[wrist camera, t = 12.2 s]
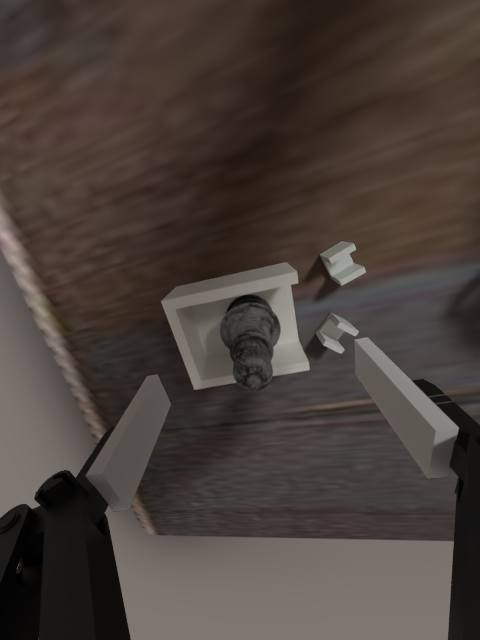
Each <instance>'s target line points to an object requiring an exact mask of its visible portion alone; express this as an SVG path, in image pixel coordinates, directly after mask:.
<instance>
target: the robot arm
mask: <svg viewBox="0 0 480 640" xmlns="http://www.w3.org/2000/svg"><path fill="white" fill-rule="evenodd" d="M355 372H356V376H357V378H358V379H359V380H360V382H361V383H362V385H363V386H364V388H365V389H366V391H367V392H368V393H369V395H370V396H371V398H372V399H373V401H374V402H375V403H376V405H377V406H378V408H379V409H380V411H381V412H382V414H383V415H384V416H385V418H386V419H387V421H388V422H389V424H390V425H391V426H392V428H393V429H394V431H395V432H396V434H397V435H398V437H399V438H400V439H401V441H402V442H403V444H404V445H405V447H406V448H407V449H408V451H409V452H410V454H411V455H412V457H413V458H414V460H415V461H416V462H417V464H418V465H419V467H420V468H421V470H422V471H423V472H424V474H425V475H426V477H427V478H436V477H446V476H448V474H449V470H450V467H451V468H452V469H453V471H454V472H455V473H456V474H457V475H458V477H459V478H458V481H457V485H456V489H455V493H456V494H457V499H456V515H455V532H454V550H453V565H452V582H451V600H450V616H449V632H448V640H480V425H479V424H478V423H477V422H476V421H475V420H473V419H472V418H471V417H470V416H469V415H468V414H467V413H466V412H464V411H463V410H462V409H461V408H460V407H459V406H458V405H457V404H455V403H454V402H452V400H451V399H450V398H449V397H448V396H446V395H445V394H444V393H443V392H442V391H441V390H440V389H439V388H437V387H436V386H435V385H433V384H431V383H429V382H427V381H426V380H424V379H420V380H413V381H411V380H410V379H409V378H408V377H407V376H406V375H405V374H404V373H403V372H402V371H401V370H400V369H399V368H398V367H397V366H396V365H395V364H394V363H393V362H392V361H391V360H390V359H389V358H388V357H387V356H386V355H385V354H384V353H383V352H382V351H381V350H380V349H379V348H378V347H377V346H376V345H375V344H374V343H373V342H372V341H371V340H370V339H369V338H368V337H367V338H361V339H355ZM170 406H171V403H170V401H169V398H168V396H167V394H166V392H165V390H164V388H163V385H162V383H161V381H160V379H159V377H158V374H157V375H151V376H147V377H146V379H145V380H144V382H143V384H142V385H141V387H140V389H139V390H138V392H137V393H136V395H135V397H134V398H133V400H132V401H131V403H130V405H129V406H128V408H127V409H126V411H125V413H124V414H123V416H122V418H121V419H120V421H119V422H118V424H117V426H116V427H112V428H111V429H109V430H108V431H107V432H106V433H105V434H104V435H103V437H102V439H101V440H100V442H99V443H98V446H96V448H95V449H94V451H93V454H91V456H90V457H89V458H88V460H87V462H86V463H85V465H84V466H83V468H82V469H81V471H80V472H79V474H78V475H77V477H76V478H75V477H74V476H73V475H72V473H70V471H67V470H64V471H60V472H58V473H56V474H54V475H53V476H52V477H50V478H49V479H47V480H46V481H45V482H44V483H43V484H42V486H41V487H40V488H39V489H38V491H37V492H36V495H35V498H34V499H35V500H36V501H37V502H38V503H39V504H40V505H41V506H39V507H37V508H34V509H31V508H30V507H29V506H28V505H27V504H21V505H18V506H16V507H14V508H13V509H11V510H10V511H8V512H7V513H6V514H5V515H3V516H2V517H1V518H0V640H38V639H39V640H131V639H130V634H129V629H128V624H127V618H126V613H125V608H124V603H123V598H122V593H121V587H120V582H119V577H118V572H117V566H116V561H115V556H114V551H113V546H112V541H111V535H110V530H109V526H108V520H107V517H106V515H105V514H104V513H105V511H106V509H107V507H108V505H109V506H110V508H111V509H112V510H113V511H114V512H118V511H128V510H129V509H130V506H131V504H132V501H133V499H134V496H135V494H136V491H137V489H138V486H139V484H140V481H141V479H142V476H143V474H144V471H145V469H146V466H147V464H148V461H149V459H150V456H151V454H152V451H153V449H154V446H155V444H156V441H157V439H158V436H159V434H160V431H161V429H162V426H163V424H164V421H165V419H166V416H167V414H168V411H169V409H170ZM18 564H19V566H18ZM17 567H18V569H17Z"/></svg>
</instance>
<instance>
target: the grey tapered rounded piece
mask: <svg viewBox="0 0 480 640" xmlns="http://www.w3.org/2000/svg"><path fill="white" fill-rule="evenodd" d="M280 332H281V328H280V322H279V320H278V318H277V316H276V314H275V313H274V312H273V311H272V309H271V306H270V305H269V304H268V302H267V301H266V300H264V299H263V298H261V297H259V296H256V295H243V296H240V297H238V298H236V299H235V300H234V301H232V302H231V304H230V305H229V307H228V309H227V311H226V315H225V316H224V317H223V319H222V322H221V325H220V335H221V339H222V341H223V343H224V344H225V346H226V347H227V348H228V349H229V350H230V356H231V359H232V361H233V362H234V364H233V375H234V379H235V381H236V383H237V384H238V385H239V386H240V387H242V388H244V389H246V390H249V391H258V390H261V389H263V388H265V387H266V386H267V385H268V384H269V383H270V382H271V380H272V375H273V369H272V364H271V360H272V357H273V353H274V350H273V347H274V346H275V345H276V344H277V342H278V340H279V337H280Z"/></svg>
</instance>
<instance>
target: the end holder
mask: <svg viewBox="0 0 480 640" xmlns="http://www.w3.org/2000/svg"><path fill="white" fill-rule="evenodd" d="M297 283H298V275H297V271H296V270H295V269H294V268H293V267H291V266H290V265H289V264H288V263H287V262H285V263H280V264H276V265H271V266H267V267H262V268H258V269H253V270H249V271H244V272H240V273H235V274H231V275H226V276H222V277H217V278H213V279H208V280H204V281H199V282H195V283H190V284H186V285H181V286H177V287H175V288H174V289H173V290H172V291H171V292H170V293H169V294H168V295H167V296H166V297H165V298H164V299H163V300H162V301H161V303H162V306H163V308H164V311H165V313H166V316H167V319H168V321H169V324H170V327H171V329H172V332H173V335H174V337H175V340H176V342H177V345H178V348H179V350H180V353H181V356H182V358H183V361H184V364H185V366H186V369H187V372H188V374H189V377H190V379H191V382H192V385H193V387H194V390H197V389H203V388H208V387H214V386H220V385H226V384H231V383H236V381H235V379H234V375H233V364H234V362H233V361H232V359H231V356H230V350H229V349H228V348H227V347H226V346H225V344H224V343H223V341H222V339H221V335H220V325H221V322H222V319H223V317H224V316H225V315H226V311H227V309H228V307H229V305H230V304H231V302H232V301H234V300H235V299H236V298H238V297H240V296H243V295H256V296H259V297H261V298H263V299H264V300H266V301H267V302H268V304H269V305H270V306H271V309H272V311H273V312H274V313H275V314H276V316H277V318H278V320H279V322H280V328H281V332H280V337H279V340H278V342H277V344H276V345H275V346H274V347H273V350H274V353H273V357H272V360H271V364H272V369H273V375H272V376H278V375H283V374H289V373H295V372H301V371H306V370H310V369H309V362H308V359H307V357H306V355H305V353H304V351H303V349H302V347H301V344H300V342H299V340H298V333H297V326H296V318H295V311H294V304H293V297H292V290H291V285H292V284H297Z"/></svg>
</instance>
